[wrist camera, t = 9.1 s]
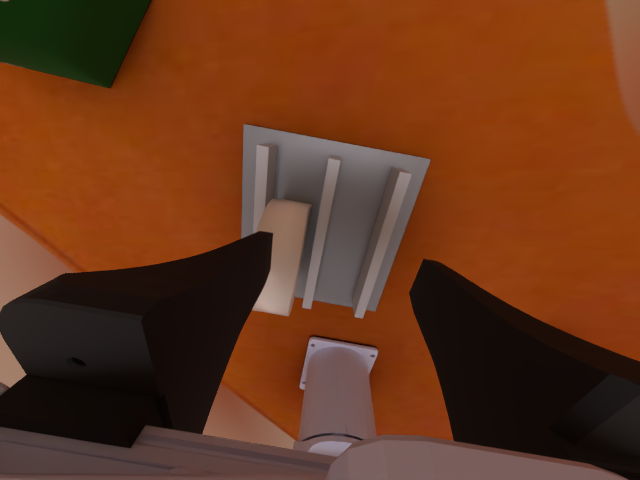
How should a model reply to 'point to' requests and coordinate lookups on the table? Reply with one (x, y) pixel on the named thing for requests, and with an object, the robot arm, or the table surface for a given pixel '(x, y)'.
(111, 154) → the table surface
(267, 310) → the cream round puck
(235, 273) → the robot arm
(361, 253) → the dish rack
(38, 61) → the milk carton
